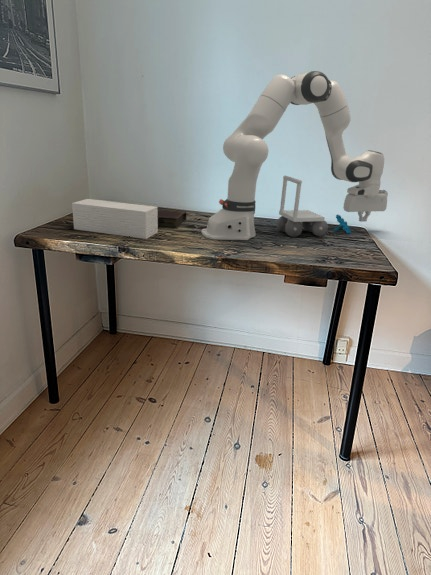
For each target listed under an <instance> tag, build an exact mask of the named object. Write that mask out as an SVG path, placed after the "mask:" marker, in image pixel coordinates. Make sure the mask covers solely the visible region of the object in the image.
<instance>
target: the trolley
mask: <svg viewBox="0 0 431 575" xmlns="http://www.w3.org/2000/svg"><path fill="white" fill-rule="evenodd" d="M282 178H283V179H282V188H281V189H282V190H281V199H280V208H279V211H278V214H279V215H280V217H278V218H277V219H278V220H277V222H276V228H277V229H278V230H279V231H281V232H282V233H286V235H288V237H292V238H296V237H298V236H300V235H301V233H302V232H303V230H304V231H307V232H311V233H312V234H313V235H315V236H317V237H321V236H324V235H325V234H326V233H327V231H328V229H329V224H328V222H327V221H326V220H325V219H326V218H325V216H322V215H321V214H318V213H316V212H314V211H311V210H309V209H307V210H306V209H304V210H301V209H300V210H299V205H300V204H299V203H300V197H301V196H300V195H301V190H302V183H303V181H302V180H300V179H298V178H294V177H291V176H289V175H283V177H282ZM288 182H290V183H295V184H296V191H295V199H294V206H293V209H291V210H290V209H288V210H285V202H286V194H287V186H288Z"/></svg>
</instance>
